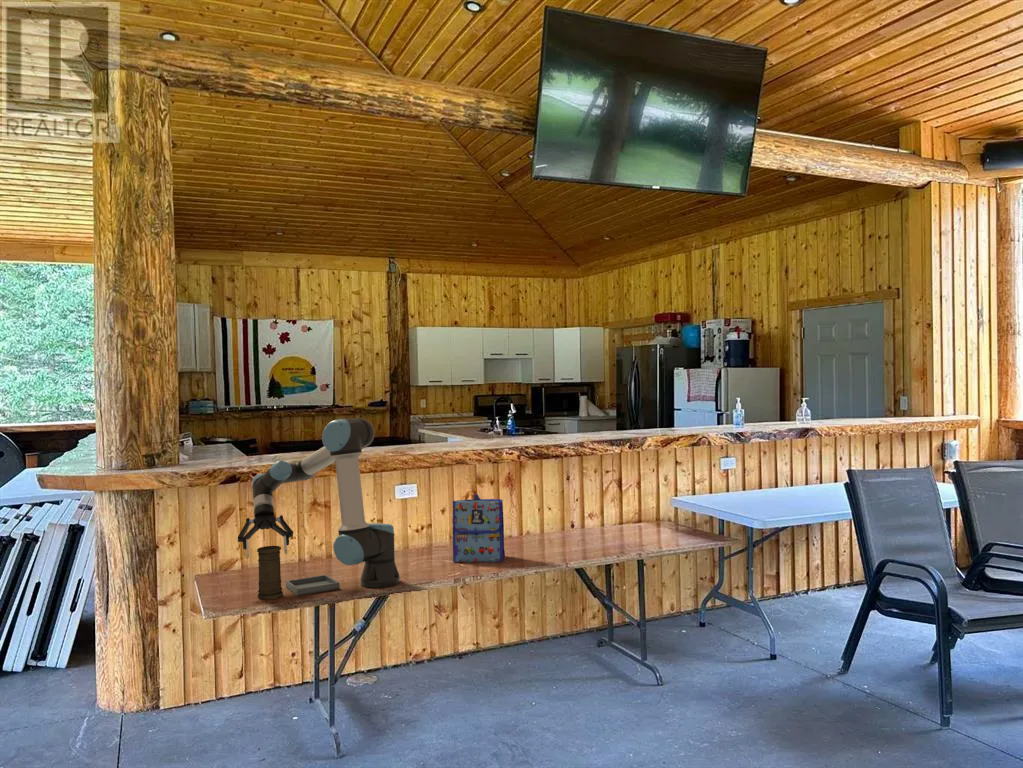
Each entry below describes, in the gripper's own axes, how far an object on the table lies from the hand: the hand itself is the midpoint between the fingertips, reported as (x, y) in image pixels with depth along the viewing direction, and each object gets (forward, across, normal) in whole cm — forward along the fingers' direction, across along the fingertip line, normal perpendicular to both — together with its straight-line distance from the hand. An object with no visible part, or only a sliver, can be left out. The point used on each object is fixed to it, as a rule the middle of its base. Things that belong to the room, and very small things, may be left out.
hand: (267, 553), depth 283 cm
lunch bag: (0, -89, -21) cm, 92 cm away
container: (+15, 0, -6) cm, 16 cm away
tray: (+11, -16, -9) cm, 22 cm away
